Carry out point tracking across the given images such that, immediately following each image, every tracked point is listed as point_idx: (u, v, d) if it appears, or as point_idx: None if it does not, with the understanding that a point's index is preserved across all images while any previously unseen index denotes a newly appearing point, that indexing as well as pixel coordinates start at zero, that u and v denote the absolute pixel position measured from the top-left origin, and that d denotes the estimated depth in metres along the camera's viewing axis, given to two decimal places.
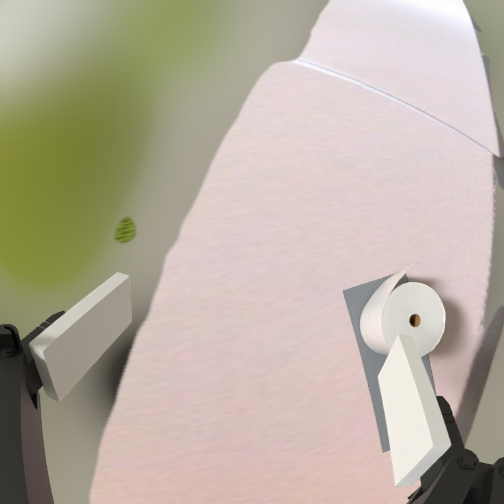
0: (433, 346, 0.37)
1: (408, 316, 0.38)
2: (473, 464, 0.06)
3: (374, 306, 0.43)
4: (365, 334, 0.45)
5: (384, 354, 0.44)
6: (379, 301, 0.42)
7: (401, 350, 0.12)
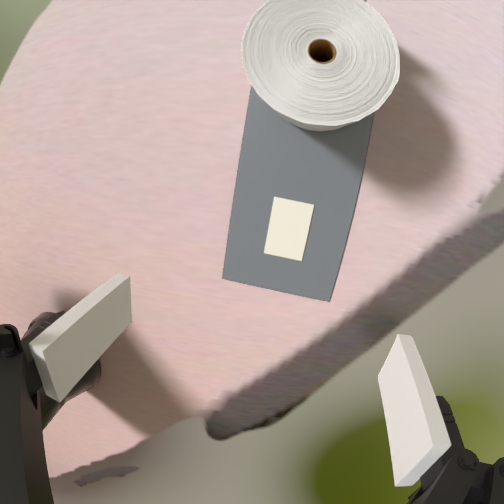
0: (338, 119, 0.18)
1: (311, 37, 0.17)
2: (473, 464, 0.06)
3: None
4: None
5: (276, 112, 0.26)
6: None
7: (401, 350, 0.12)
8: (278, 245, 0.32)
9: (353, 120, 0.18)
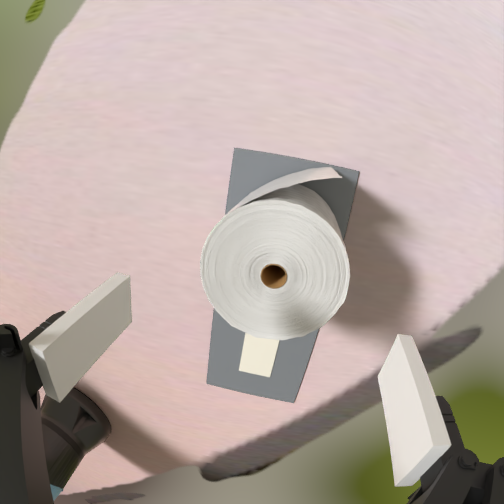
0: (285, 335, 0.23)
1: (264, 262, 0.22)
2: (473, 464, 0.06)
3: (239, 203, 0.25)
4: None
5: None
6: (243, 201, 0.23)
7: (401, 350, 0.12)
8: (250, 366, 0.37)
9: (298, 336, 0.23)
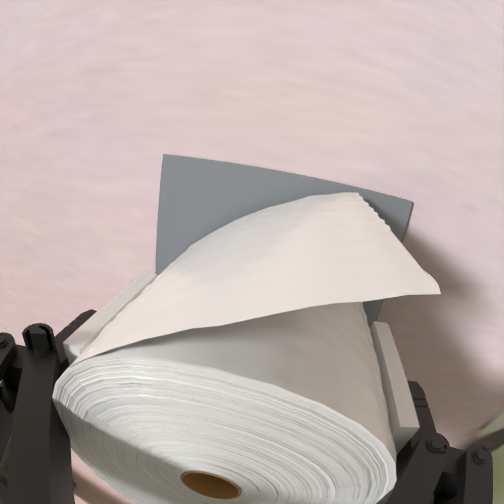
0: None
1: (184, 466, 0.07)
2: (443, 447, 0.07)
3: (141, 293, 0.10)
4: None
5: None
6: (136, 303, 0.09)
7: (376, 336, 0.13)
8: None
9: None
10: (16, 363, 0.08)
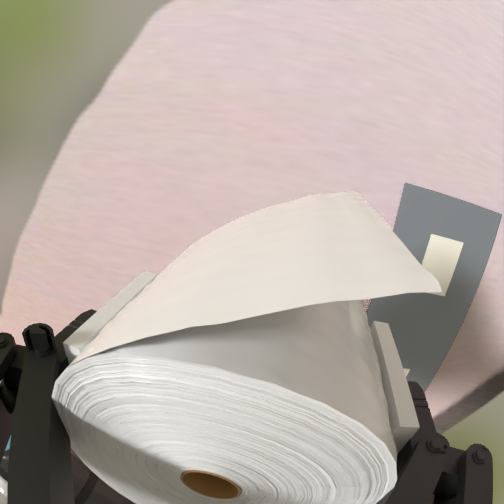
0: None
1: (184, 465, 0.07)
2: (443, 447, 0.07)
3: (141, 292, 0.10)
4: None
5: None
6: (136, 301, 0.09)
7: (376, 336, 0.13)
8: None
9: None
10: (16, 363, 0.08)
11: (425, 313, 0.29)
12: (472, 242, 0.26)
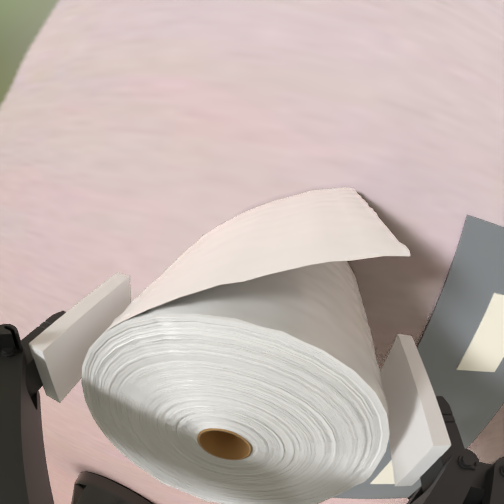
0: None
1: (202, 424, 0.09)
2: (473, 464, 0.06)
3: (163, 274, 0.12)
4: None
5: None
6: (161, 279, 0.10)
7: (401, 350, 0.12)
8: (387, 478, 0.22)
9: None
10: None
11: (465, 394, 0.18)
12: None
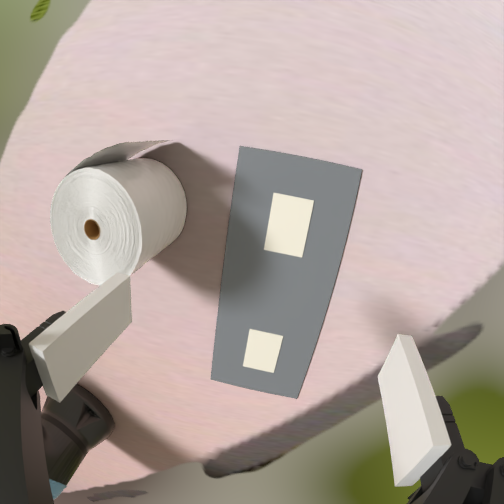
0: None
1: (85, 218, 0.24)
2: (473, 464, 0.06)
3: None
4: None
5: None
6: None
7: (401, 350, 0.12)
8: (254, 361, 0.38)
9: None
10: None
11: (284, 275, 0.33)
12: (325, 200, 0.30)
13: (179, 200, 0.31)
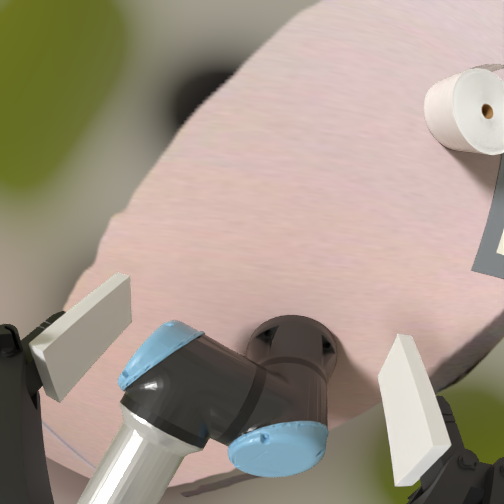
0: (494, 152, 0.27)
1: (482, 102, 0.25)
2: (473, 464, 0.06)
3: (450, 76, 0.28)
4: (429, 102, 0.33)
5: (439, 135, 0.34)
6: (458, 73, 0.27)
7: (401, 350, 0.12)
8: None
9: (499, 153, 0.27)
10: None
11: None
12: None
13: None
